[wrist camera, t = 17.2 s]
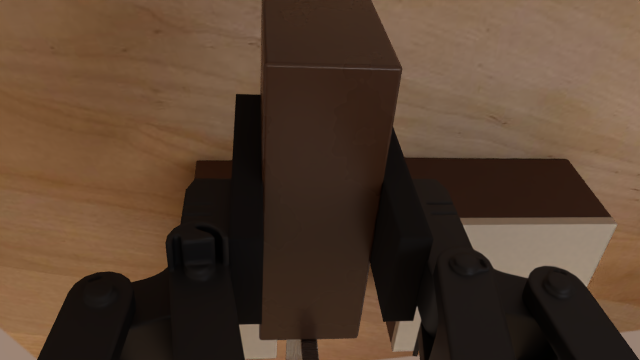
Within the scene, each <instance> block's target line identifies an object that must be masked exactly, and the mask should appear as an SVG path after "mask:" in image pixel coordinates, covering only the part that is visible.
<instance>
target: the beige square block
mask: <svg viewBox="0 0 640 360" xmlns="http://www.w3.org/2000/svg"><path fill="white" fill-rule="evenodd" d="M405 161H406V164H407V167H408V169H409V172H410V175H411V178H412V179H436V180H437V181H439V182H440V183H441V184H442V185H443V186H444V187H445V188H446V189H447V190H448V192H449V194H450V197H451V199H452V201H453V205H454V206H455V208H456V210H457V215H459V217H460V220H461V222H462V224H463V227H464V229H465V231H466V233H467V236H468V238H469V240H470V243H471V245H472V247H473V249H474V250H476V251H478V252H480V253H482V254H483V255H484V256H485V257H486V258H487V259H488V260H489V261H490V263H491V264H492V266H493V268H494V269H496V270H498V271H501V272H504V273H508V274H512V275H516V276H521V277H525V278H528V277H529V274H530V272H532V271H533V270H534V269H535V268H537V267H541V266H555V267H558V268H561V269H564V270H567V271H569V272H570V273H572V274H574V275H575V276H577V277H578V278H579V279H580V280H581V281H582V282H583V283H584V285H585V286H586V287H587V285H588V283H589V281H590V279H591V277H592V275H593V273H594V271H595V269H596V267H597V265H598V263H599V261H600V259H601V257H602V255H603V253H604V251H605V249H606V247H607V245H608V243H609V241H610V239H611V237H612V235H613V232H614V230H615V228H616V226H617V223H616V222H615V220H614V219H613V218H612V217H611V216H610V214H609V213H608V212H607V210H606V209H605V208H604V206H603V205H602V204H601V202H600V201H599V200H598V198H597V197H596V196H595V195H594V193H593V192H592V191H591V189H590V188H589V187H588V185H587V184H586V183H585V181H584V180H583V179H582V177H581V176H580V175H579V174H578V172H577V171H576V170H575V168H574V167H573V166H572V164H571V163H570V162H569V160H558V159H438V158H405ZM420 323H421V318H420V314H419V311H418V307H417V308H416V312H415V316H414V320H413V321H388V322H386V325H387V329H388V333H389V337H390V342H391V347H392V351H393V352H394V351H414V346H415V342H416V338H417V334H418V331H419V327H420Z"/></svg>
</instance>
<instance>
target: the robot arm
mask: <svg viewBox="0 0 640 360" xmlns="http://www.w3.org/2000/svg"><path fill="white" fill-rule="evenodd" d="M263 252H264V224H263V181H262V168H261V95H249V94H236V105H235V123H234V141H233V159H232V178H195V179H194V181H193V182H192V183H191V184H190V185H189V187H188V188H187V189H186V192H185V198H184V206H183V211H182V217H181V224H180V225H179V226H178V227H176V228H174V229H173V230H172V231H171V232H170V233H169V235H168V236H167V240H166V253H167V262H168V267H167V268H166V269H165V270H164V271H162V272H161V273H159V274H157V275H155V276H152V277H149V278H147V279H143V280H139V281H135V282H130V280H129V279H128V278H127V277H125V276H124V275H122V274H120V273H115V272H98V273H94V274H92V275H89V276H86V277H84V278H83V279H81V280H80V281H78V282H77V283H75V284H74V286H73V287H72V288H71V290H70V291H69V292H68V294H67V297H66V299H65V301H64V303H63V305H62V307H61V309H60V312H59V314H58V316H57V318H56V320H55V322H54V325H53V327H52V329H51V331H50V333H49V335H48V337H47V340H46V342H45V344H44V346H43V348H42V350H41V352H40V355H39V357H38V359H37V360H245V357H244V351H243V345H242V339H241V333H240V327H239V325H245V324H262V295H263ZM370 264H371V268H372V273H373V277H374V282H375V286H376V291H377V295H378V300H379V304H380V309H381V313H382V318H383V322H388V321H413V320H414V316H415V312H416V308H417V307H418V311H419V314H420V318H421V323H420V327H419V331H418V334H417V338H416V342H415V346H414V351H413V356H417V355H418V351H419V354H420V360H639V359H638V357H637V356H636V355H635V353H634V352H633V351H632V349H631V348H630V347H629V345H628V344H627V342H626V341H625V340H624V338H623V337H622V336H621V334H620V333H619V331H618V330H617V329H616V327H615V326H614V324H613V323H612V322H611V320H610V319H609V318H608V316H607V315H606V313H605V312H604V311H603V309H602V308H601V307H600V305H599V304H598V302H597V301H596V300H595V298H594V297H593V296H592V294H591V293H590V291H589V290H588V289H587V287H586V286H585V285H584V283H583V282H582V281H581V280H580V279H579V278H578V277H577V276H575V275H574V274H572V273H570V272H569V271H567V270H564V269H561V268H558V267H555V266H541V267H537V268H535V269H534V270H533V271H532V272H530V274H529V277H528V278H525V277H521V276H516V275H512V274H508V273H504V272H501V271H498V270H496V269H494V268H493V266H492V264H491V263H490V261H489V260H488V259H487V258H486V257H485V256H484V255H483V254H482V253H480V252H478V251H476V250H474V249H473V247H472V245H471V243H470V240H469V238H468V236H467V233H466V231H465V229H464V227H463V224H462V222H461V220H460V217H459V215H457V210H456V208H455V206H454V205H453V201H452V199H451V197H450V194H449V192H448V190H447V189H446V188H445V187H444V186H443V185H442V184H441V183H440V182H439V181H437V180H436V179H412V178H411V175H410V172H409V169H408V167H407V164H406V161H405V158H404V156H403V153H402V150H401V147H400V145H399V142H398V139H397V136H396V134H395V131H394V128H392V134H391V140H390V146H389V152H388V158H387V164H386V170H385V176H384V181H383V187H382V193H381V199H380V205H379V211H378V217H377V223H376V229H375V235H374V241H373V247H372V253H371V259H370Z"/></svg>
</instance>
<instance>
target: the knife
mask: <svg viewBox="0 0 640 360" xmlns="http://www.w3.org/2000/svg"><path fill="white" fill-rule="evenodd" d="M401 74H402V66H401V64H400V62H399V60H398V58H397V56H396V53H395V51H394V49H393V47H392V45H391V42H390V40H389V38H388V36H387V34H386V32H385V29H384V27H383V25H382V23H381V21H380V19H379V16H378V14H377V12H376V10H375V8H374V5H373V3H372V1H371V0H262V20H261V93H260V95H261V168H262V181H263V224H264V252H263V295H262V324H259V338H260V340H287V344H286V360H319V355H318V345H317V339H343V338H357V336H358V332H359V326H360V320H361V314H362V308H363V302H364V296H365V290H366V284H367V278H368V272H369V266H370V259H371V253H372V247H373V241H374V235H375V229H376V223H377V217H378V211H379V205H380V199H381V193H382V187H383V181H384V176H385V170H386V164H387V158H388V152H389V146H390V140H391V134H392V128H393V122H394V116H395V110H396V104H397V98H398V92H399V86H400V80H401Z"/></svg>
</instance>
